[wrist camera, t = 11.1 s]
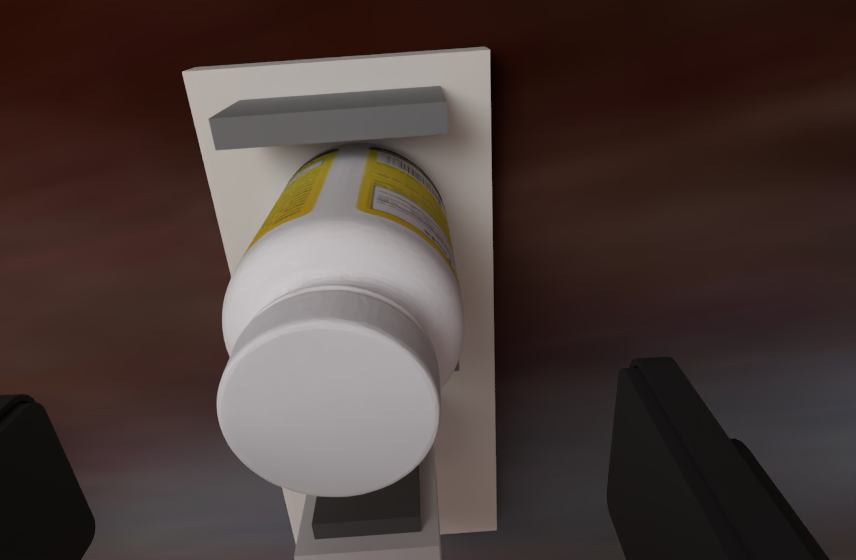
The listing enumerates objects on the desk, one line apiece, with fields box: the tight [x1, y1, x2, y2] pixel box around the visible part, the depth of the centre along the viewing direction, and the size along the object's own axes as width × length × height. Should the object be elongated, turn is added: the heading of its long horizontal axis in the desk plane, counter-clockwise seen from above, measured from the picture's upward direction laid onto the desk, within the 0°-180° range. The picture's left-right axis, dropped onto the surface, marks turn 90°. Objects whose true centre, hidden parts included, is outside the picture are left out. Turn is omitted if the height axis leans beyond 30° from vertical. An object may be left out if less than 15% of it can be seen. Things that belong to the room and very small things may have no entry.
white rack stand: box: [182, 47, 497, 560], centre depth 18 cm, size 9×20×8 cm, turn 4°
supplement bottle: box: [217, 143, 465, 497], centre depth 14 cm, size 5×5×10 cm
